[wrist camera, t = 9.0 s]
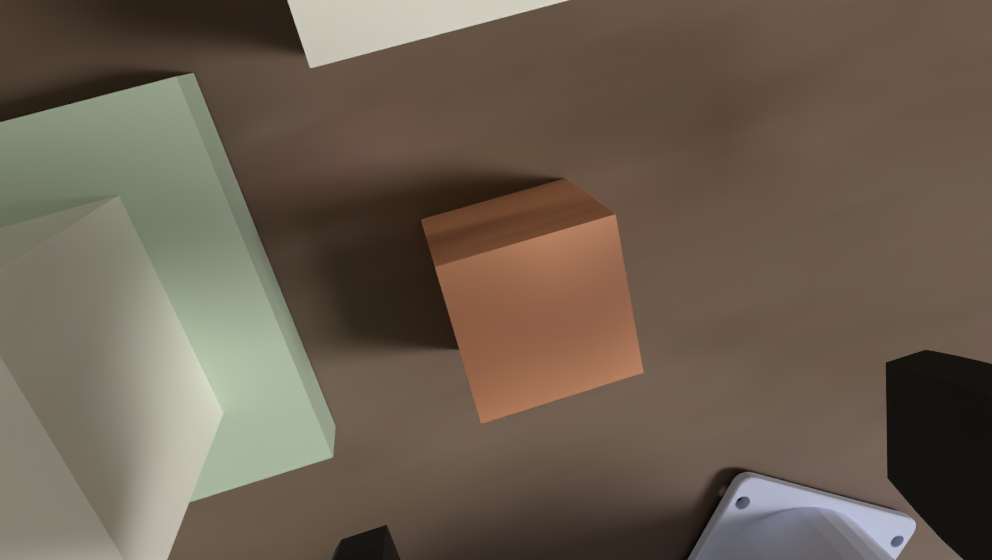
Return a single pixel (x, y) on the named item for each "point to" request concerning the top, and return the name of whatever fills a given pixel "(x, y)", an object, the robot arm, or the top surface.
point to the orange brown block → (535, 296)
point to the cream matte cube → (94, 393)
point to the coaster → (184, 259)
